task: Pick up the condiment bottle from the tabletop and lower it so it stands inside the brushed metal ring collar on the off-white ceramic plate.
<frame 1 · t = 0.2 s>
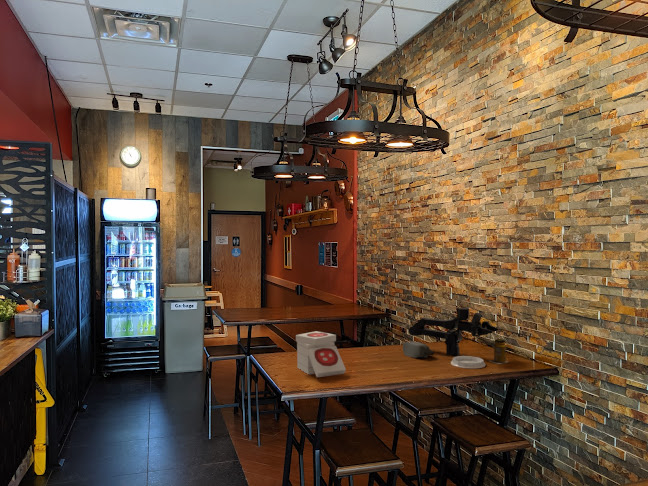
hand: (495, 330, 269), 17 cm above the table, tool horizontal, fingers open, 9 cm apart
pizza box stack: (320, 372, 252), on the table
condiment: (498, 362, 268), on the table
grey rounded piece: (417, 356, 284), on the table
collar plate: (468, 364, 264), on the table
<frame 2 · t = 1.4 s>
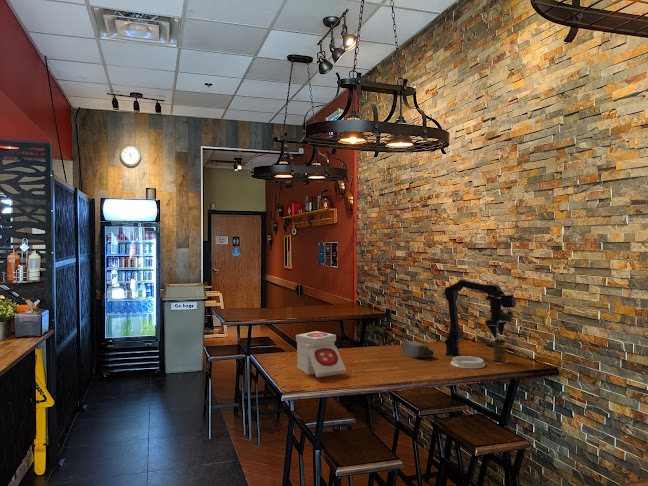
hand: (498, 336, 268), 14 cm above the table, tool pointing down, fingers open, 9 cm apart
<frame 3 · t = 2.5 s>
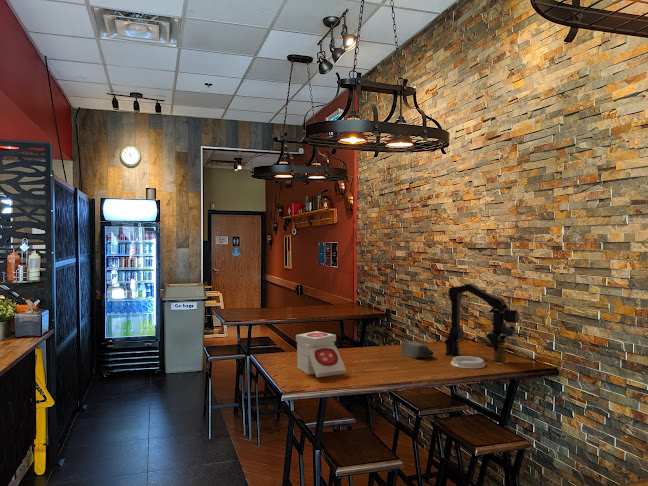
hand: (498, 349, 268), 7 cm above the table, tool pointing down, fingers open, 7 cm apart
condiment: (498, 362, 268), on the table, touching gripper
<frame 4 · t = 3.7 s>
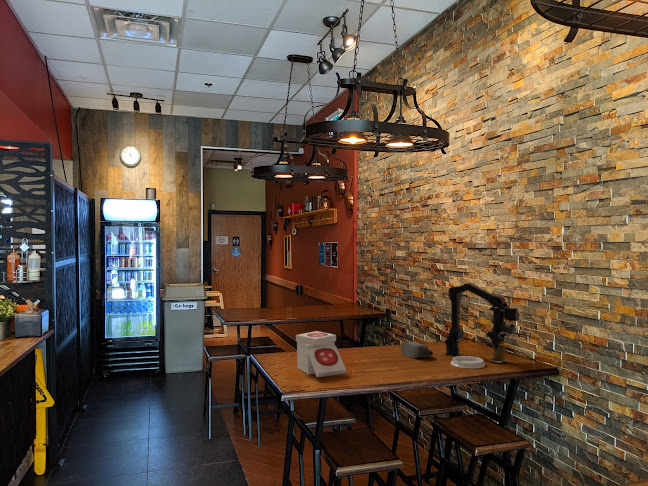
hand: (498, 347, 268), 8 cm above the table, tool pointing down, fingers closed on condiment, 6 cm apart
condiment: (498, 360, 267), point 1 cm above the table, touching gripper
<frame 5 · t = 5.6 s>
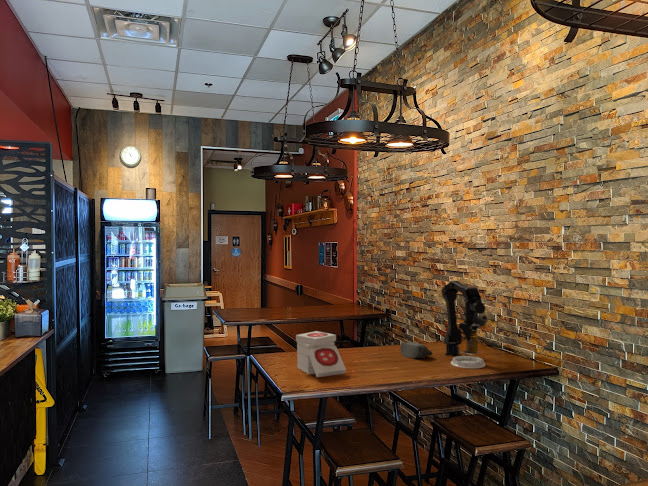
hand: (470, 339, 264), 13 cm above the table, tool pointing down, fingers closed on condiment, 6 cm apart
condiment: (470, 352, 263), point 6 cm above the table, touching gripper
when the fingers open (8 cm above the table, at t = 7.3 s): condiment drops 1 cm, resting on collar plate.
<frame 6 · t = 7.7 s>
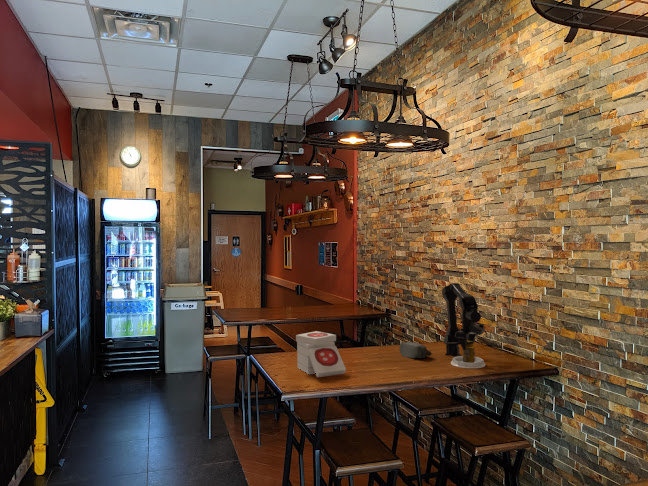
hand: (467, 348, 264), 8 cm above the table, tool pointing down, fingers open, 9 cm apart
condiment: (467, 363, 263), resting on collar plate
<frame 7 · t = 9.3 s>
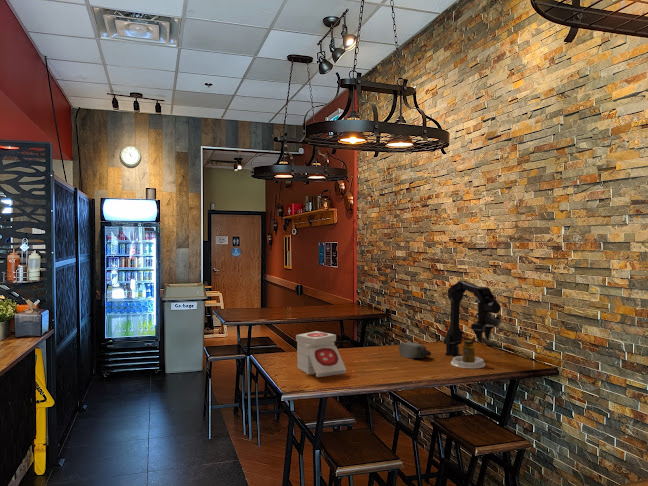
hand: (484, 341, 257), 14 cm above the table, tool pointing down, fingers open, 9 cm apart
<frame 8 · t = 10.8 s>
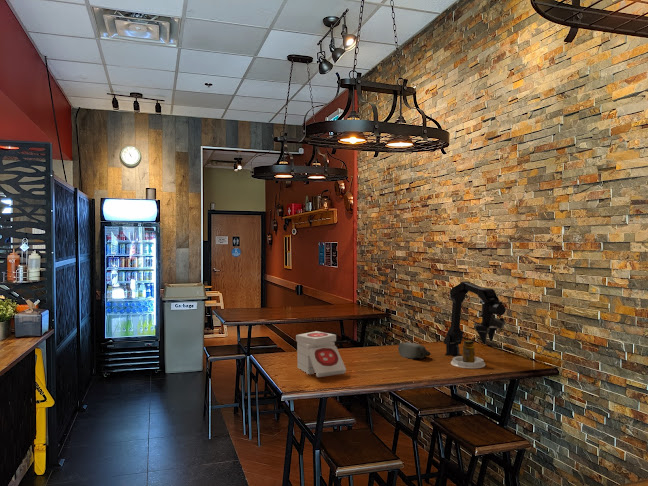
hand: (487, 342, 256), 13 cm above the table, tool pointing down, fingers open, 9 cm apart
at the end: condiment 0.7 cm off-centre on the collar plate, point 0.3 cm above the collar plate's base; condiment tilted 0°; the gripper is holding nothing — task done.
